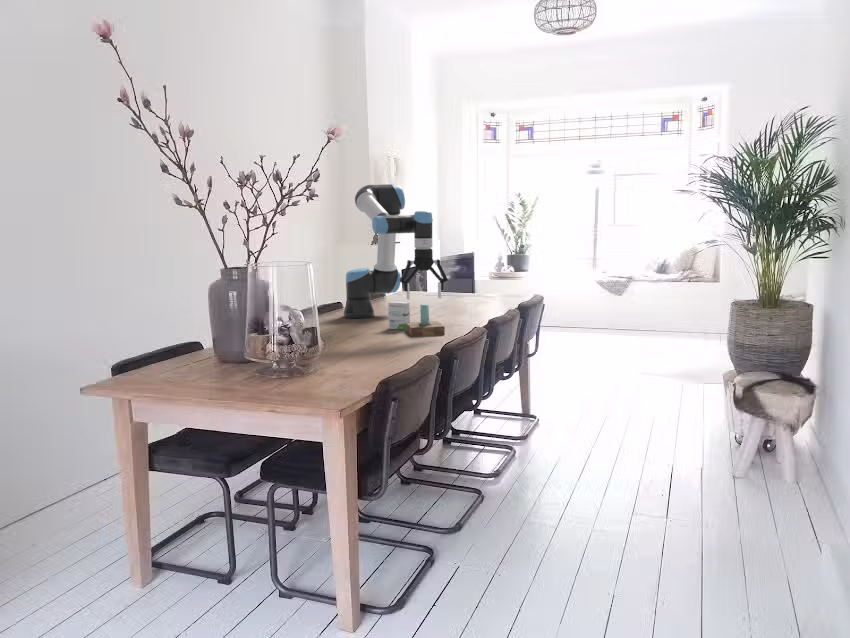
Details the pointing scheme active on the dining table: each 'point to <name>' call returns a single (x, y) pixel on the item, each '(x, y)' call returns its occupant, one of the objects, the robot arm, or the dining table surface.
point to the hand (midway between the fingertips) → (423, 298)
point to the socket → (425, 329)
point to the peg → (424, 314)
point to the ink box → (398, 315)
